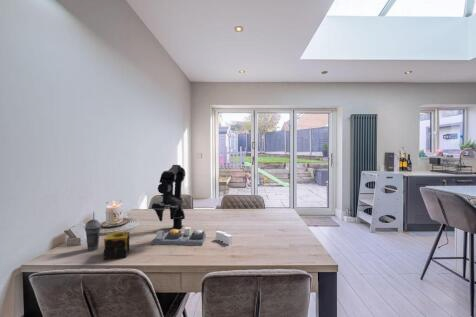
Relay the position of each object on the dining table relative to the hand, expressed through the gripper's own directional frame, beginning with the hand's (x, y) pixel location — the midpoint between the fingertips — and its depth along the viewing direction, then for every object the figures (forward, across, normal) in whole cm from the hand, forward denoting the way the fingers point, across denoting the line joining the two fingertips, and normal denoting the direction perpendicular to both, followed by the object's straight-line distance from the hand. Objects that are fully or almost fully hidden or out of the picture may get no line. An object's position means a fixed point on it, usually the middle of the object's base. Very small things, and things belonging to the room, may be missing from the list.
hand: (166, 220), depth 141 cm
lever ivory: (+9, +11, -7) cm, 16 cm away
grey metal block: (+10, -2, +3) cm, 11 cm away
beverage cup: (+14, -25, +27) cm, 39 cm away
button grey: (+8, +10, -15) cm, 20 cm away
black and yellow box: (+15, -24, +10) cm, 30 cm away
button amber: (+8, +4, -2) cm, 10 cm away
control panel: (+12, +6, -5) cm, 14 cm away
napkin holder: (+13, +16, -29) cm, 35 cm away
